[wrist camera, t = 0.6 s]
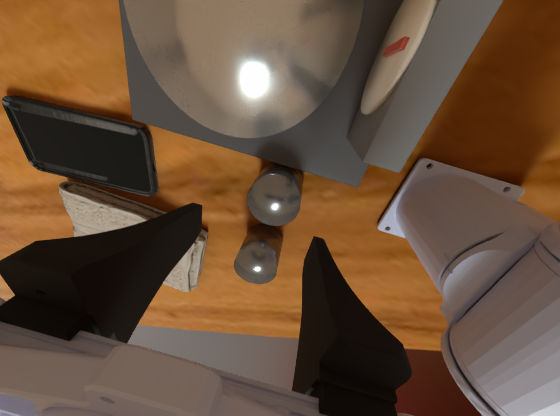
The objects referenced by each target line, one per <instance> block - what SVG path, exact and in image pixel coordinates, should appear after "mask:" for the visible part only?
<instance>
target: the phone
mask: <svg viewBox="0 0 560 416" xmlns="http://www.w3.org/2000/svg"><path fill="white" fill-rule="evenodd" d="M2 104H3V107H4V109H5V111H6V113H7V116H8V118H9V120H10V122H11V124H12V126H13V129H14V131H15V133H16V135H17V137H18V139H19V142H20V144H21V146H22V148H23V150H24V152H25V155H26V157H27V159H28V161H29V162H30V163H31V165H32V166H34V167H35V168H36V169H38V170H40V171H44V172H48V173H52V174H56V175H60V176H65V177H69V178H73V179H77V180H81V181H85V182H89V183H93V184H97V185H101V186H106V187H110V188H114V189H118V190H122V191H126V192H130V193H134V194H138V195H142V196H147V197H149V196H152V195H154V194H155V193H157V192H158V189H159V186H158V178H157V171H156V163H155V155H154V147H153V139H152V136H151V134H150V132H149V131H148V130H147V128H145V127H144V126H142V125H139V124H135V123H130V122H126V121H122V120H118V119H114V118H109V117H105V116H101V115H97V114H92V113H88V112H84V111H80V110H75V109H71V108H67V107H63V106H59V105H54V104H50V103H46V102H42V101H37V100H33V99H29V98H25V97H20V96H5V97H3V99H2ZM153 163H154V169H153ZM154 170H155V171H154ZM156 183H157V184H156Z"/></svg>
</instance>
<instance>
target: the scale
mask: <svg viewBox="0 0 560 416" xmlns="http://www.w3.org/2000/svg"><path fill="white" fill-rule="evenodd" d="M502 2H503V0H364V6H363V11H362V17H361V22H360V27H359V30H358V34H357V37H356V40H355V44H354V47H353V50H352V52H351V54H350V57H349V59H348V62H347V64H346V66H345V68H344V70H343V72H342V74H341V76H340V77H339V79H338V81H337V83H336V84H335V86H334V87H333V89H332V90H331V91H330V93H329V94H328V96H327V97H326V98H325V99H324V100H323V102H322V103H321V104H320V105H319V106H318V107H317V108H316V109H315V110H314V111H313V112H312V113H311V114H310V115H308V116H307V117H306V118H305V119H303V120H302V121H300V122H299V123H297V124H296V125H295V126H293V127H291V128H289V129H287V130H285V131H282V132H280V133H277V134H274V135H270V136H265V137H260V138H240V137H233V136H228V135H224V134H221V133H219V132H216V131H213V130H211V129H209V128H207V127H205V126H203V125H201V124H200V123H198V122H197V121H195V120H194V119H192V118H191V117H189V116H188V115H187V114H186V113H185V112H183V111H182V110H181V109H180V108H179V107H178V106H177V105H176V104H175V103H174V102H173V101H172V100H171V99H170V98H169V97H168V96H167V94H166V93H165V92H164V91H163V89H162V88H161V87H160V86H159V84H158V83H157V81H156V80H155V78H154V77H153V75H152V74H151V72H150V70H149V69H148V67H147V65H146V63H145V61H144V59H143V57H142V55H141V53H140V51H139V49H138V46H137V44H136V42H135V39H134V37H133V34H132V31H131V28H130V25H129V22H128V19H127V15H126V10H125V6H124V2H123V0H119V6H120V15H121V24H122V32H123V41H124V50H125V58H126V67H127V76H128V85H129V93H130V102H131V111H132V119H133V120H135V121H139V122H142V123H145V124H149V125H152V126H155V127H159V128H162V129H165V130H169V131H172V132H175V133H179V134H182V135H185V136H189V137H192V138H195V139H199V140H202V141H205V142H208V143H212V144H215V145H218V146H222V147H225V148H228V149H232V150H235V151H238V152H242V153H245V154H248V155H252V156H255V157H258V158H262V159H265V160H268V161H272V162H275V163H278V164H282V165H285V166H288V167H292V168H295V169H298V170H302V171H305V172H308V173H312V174H315V175H318V176H322V177H325V178H328V179H332V180H335V181H338V182H342V183H345V184H348V185H351V186H355V187H358V185H359V183H360V181H361V180H362V178H363V176H364V174H365V172H366V170H367V168H368V166H369V164H371V165H374V166H378V167H381V168H384V169H388V170H391V171H394V172H398V173H400V171H401V169H402V168H403V166H404V164H405V163H406V161H407V159H408V158H409V156H410V154H411V153H412V151H413V149H414V148H415V146H416V145H417V143H418V141H419V140H420V138H421V136H422V135H423V133H424V131H425V130H426V128H427V126H428V125H429V123H430V121H431V120H432V118H433V116H434V115H435V113H436V111H437V110H438V108H439V106H440V105H441V103H442V101H443V100H444V98H445V96H446V95H447V93H448V92H449V90H450V88H451V87H452V85H453V83H454V82H455V80H456V78H457V77H458V75H459V73H460V72H461V70H462V68H463V67H464V65H465V63H466V62H467V60H468V58H469V57H470V55H471V53H472V52H473V50H474V48H475V47H476V45H477V43H478V42H479V40H480V39H481V37H482V35H483V34H484V32H485V30H486V29H487V27H488V25H489V24H490V22H491V20H492V19H493V17H494V15H495V14H496V12H497V10H498V9H499V7H500V5H501V4H502Z"/></svg>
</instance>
